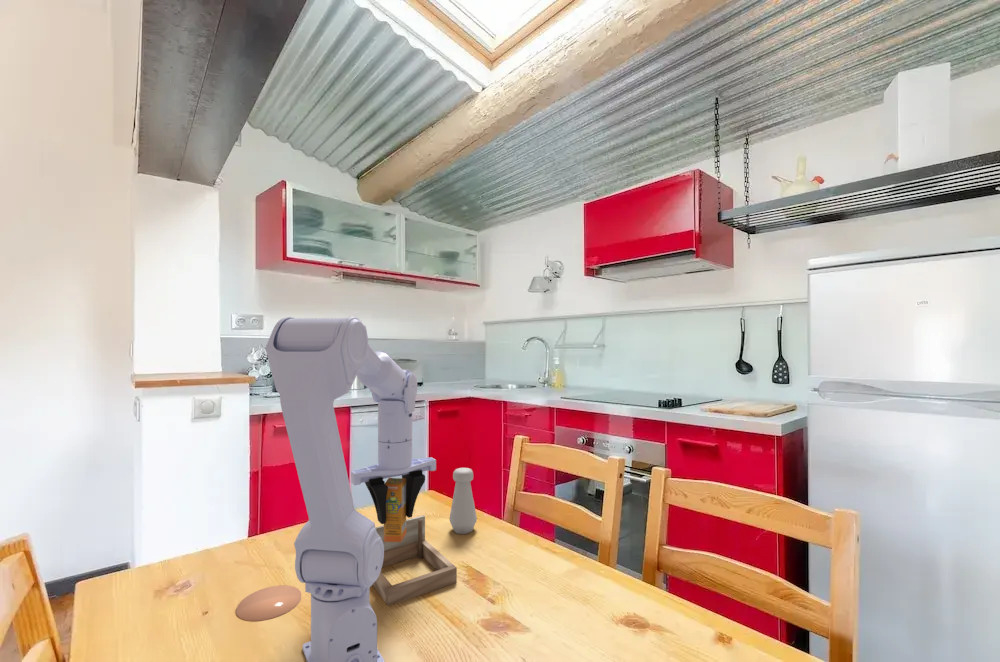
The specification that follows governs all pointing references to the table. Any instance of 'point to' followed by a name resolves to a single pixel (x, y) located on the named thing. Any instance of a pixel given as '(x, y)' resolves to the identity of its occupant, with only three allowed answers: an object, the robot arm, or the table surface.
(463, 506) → the salt shaker
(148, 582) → the table surface
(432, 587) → the brown open rectangular frame
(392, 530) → the supplement box
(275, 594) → the saucer
